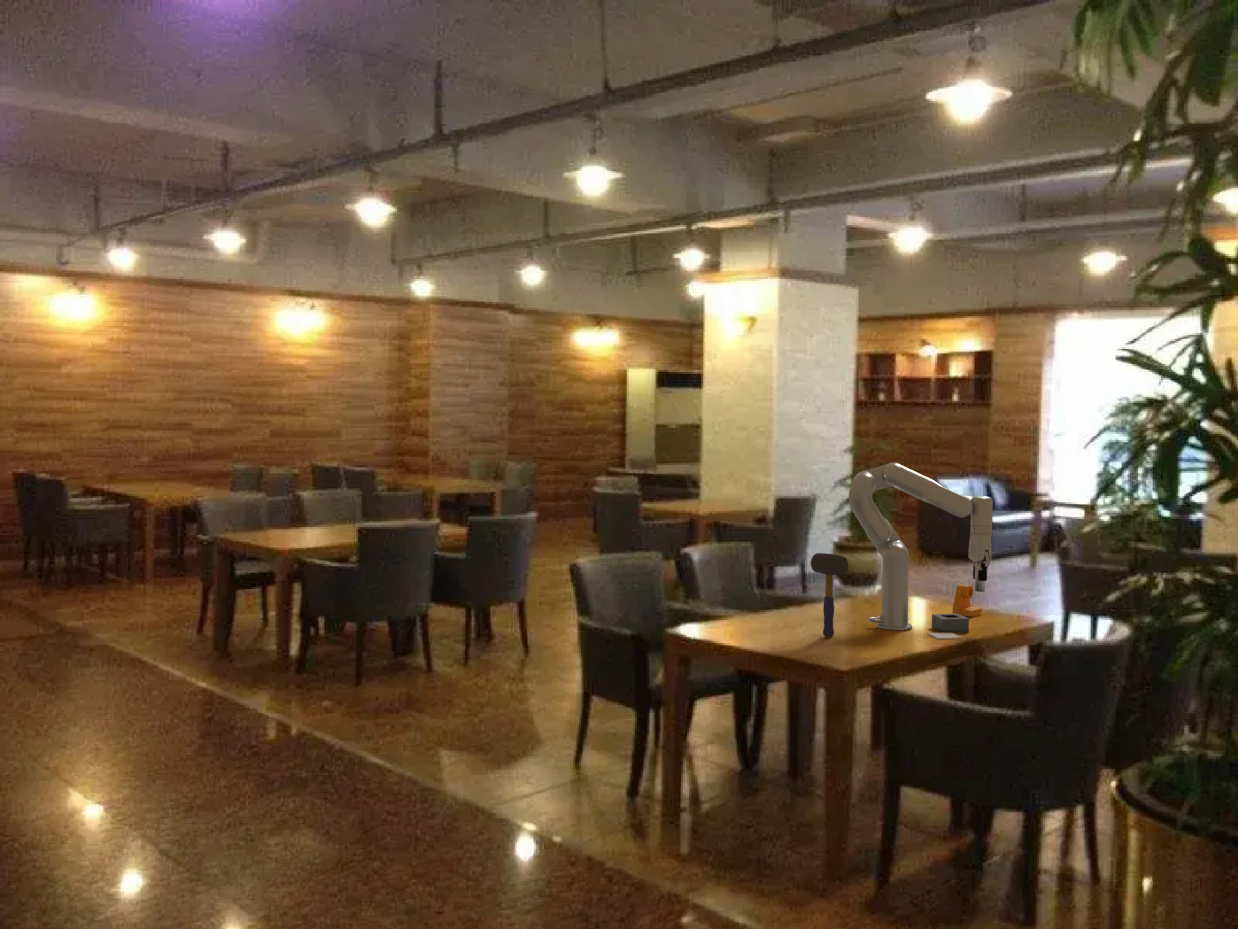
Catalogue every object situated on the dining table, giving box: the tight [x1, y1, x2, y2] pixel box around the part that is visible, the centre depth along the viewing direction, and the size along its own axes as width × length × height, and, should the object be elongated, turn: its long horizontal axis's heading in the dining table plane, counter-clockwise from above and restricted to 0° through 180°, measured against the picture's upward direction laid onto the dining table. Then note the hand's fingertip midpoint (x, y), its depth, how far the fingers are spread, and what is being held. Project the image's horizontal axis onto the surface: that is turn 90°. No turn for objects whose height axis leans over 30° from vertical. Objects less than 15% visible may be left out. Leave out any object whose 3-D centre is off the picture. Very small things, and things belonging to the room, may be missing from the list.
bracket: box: [951, 583, 983, 618], centre depth 455 cm, size 11×7×12 cm, turn 136°
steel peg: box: [974, 560, 986, 593], centre depth 423 cm, size 5×5×13 cm
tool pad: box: [927, 632, 963, 640], centre depth 413 cm, size 9×9×1 cm
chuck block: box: [931, 613, 970, 633], centre depth 425 cm, size 10×10×5 cm
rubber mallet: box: [810, 552, 849, 639], centre depth 410 cm, size 12×8×30 cm, turn 40°
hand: (979, 579), depth 423 cm, fingers closed on steel peg, 3 cm apart
